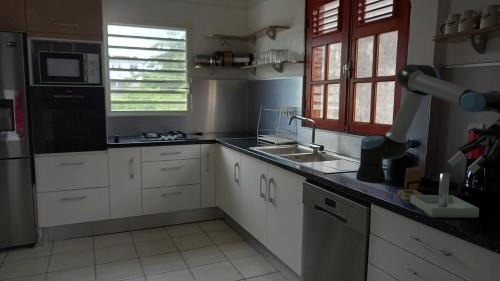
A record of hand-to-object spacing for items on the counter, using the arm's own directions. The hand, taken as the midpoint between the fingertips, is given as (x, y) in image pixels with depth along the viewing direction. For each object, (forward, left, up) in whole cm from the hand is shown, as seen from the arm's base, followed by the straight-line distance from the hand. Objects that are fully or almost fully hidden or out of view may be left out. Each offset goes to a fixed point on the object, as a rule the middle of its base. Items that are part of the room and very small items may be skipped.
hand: (459, 167), depth 144 cm
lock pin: (0, -6, -17) cm, 18 cm away
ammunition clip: (-29, -5, -18) cm, 34 cm away
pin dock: (-16, -12, -17) cm, 26 cm away
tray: (0, -6, -17) cm, 18 cm away
